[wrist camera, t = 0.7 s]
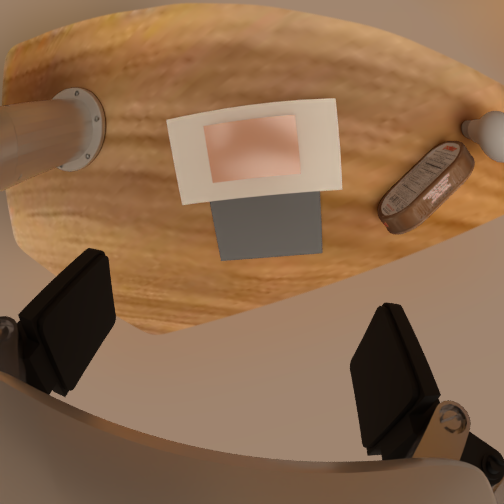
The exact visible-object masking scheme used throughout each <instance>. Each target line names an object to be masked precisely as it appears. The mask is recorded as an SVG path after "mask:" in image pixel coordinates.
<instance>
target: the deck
mask: <svg viewBox="0 0 504 504" xmlns="http://www.w3.org/2000/svg"><path fill="white" fill-rule="evenodd" d="M282 115H295V119H296V127H297V136H298V146H299V156H300V166H301V174H292V175H281V176H270V177H260V178H251V179H242V180H233V181H225V182H217V183H213V182H212V176H211V170H210V164H209V158H208V152H207V146H206V140H205V134H204V127H203V126H207V125H212V124H218V123H225V122H231V121H238V120H246V119H254V118H262V117H271V116H282ZM166 121H167V127H168V133H169V139H170V144H171V150H172V155H173V160H174V166H175V171H176V176H177V181H178V186H179V191H180V196H181V200H182V205H187V204H194V203H202V202H210V201H219V200H228V199H236V198H246V197H256V196H266V195H277V194H288V193H300V192H313V191H327V190H342V173H341V155H340V141H339V129H338V118H337V108H336V99H335V98H332V99H309V100H294V101H282V102H271V103H262V104H254V105H246V106H239V107H232V108H225V109H219V110H213V111H208V112H202V113H197V114H192V115H187V116H182V117H178V118H173V119H169V120H166Z"/></svg>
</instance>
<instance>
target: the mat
mask: <svg viewBox="0 0 504 504" xmlns="http://www.w3.org/2000/svg"><path fill="white" fill-rule="evenodd" d="M210 205H211V211H212V216H213V221H214V226H215V232H216V237H217V242H218V247H219V252H220V257H221V261H226V260H239V259H252V258H265V257H278V256H291V255H304V254H316V253H322V228H321V206H320V191H313V192H300V193H288V194H277V195H266V196H256V197H246V198H236V199H228V200H219V201H210Z"/></svg>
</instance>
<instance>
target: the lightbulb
mask: <svg viewBox="0 0 504 504" xmlns="http://www.w3.org/2000/svg"><path fill="white" fill-rule="evenodd" d="M462 133H463V135H464V136H465V137H467V138H469V139H471V140H472V141H474V142H476V143H478V144H479V145H480V147H481V148H482V150H483V151H484V153H485V154H486V155H487V156H489V157H490V158H491V159H492V160H495V161H497V162H504V113H503V112H500V111H491V112H488V113H486V114H485V115H484V116H483V117H481V119H478V120H477V119H475V120H472V121H471V120H466V121H464V122H463V124H462Z"/></svg>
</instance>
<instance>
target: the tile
mask: <svg viewBox="0 0 504 504" xmlns="http://www.w3.org/2000/svg"><path fill="white" fill-rule="evenodd" d="M203 127H204V134H205V140H206V146H207V152H208V158H209V164H210V170H211V176H212V182H213V183H217V182H225V181H233V180H242V179H251V178H260V177H270V176H281V175H292V174H301V166H300V156H299V146H298V136H297V127H296V119H295V115H282V116H271V117H262V118H254V119H246V120H238V121H231V122H225V123H218V124H212V125H207V126H203Z"/></svg>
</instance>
